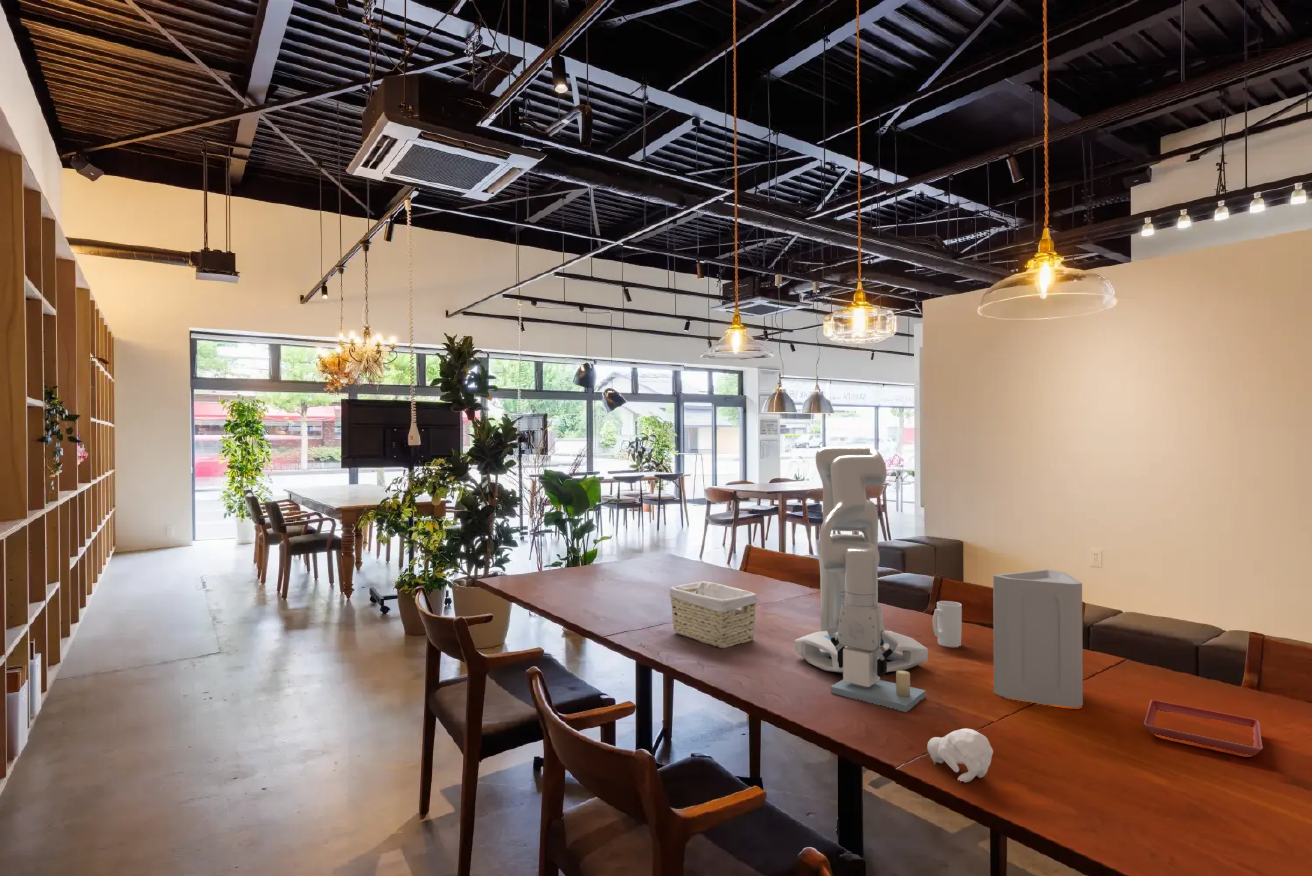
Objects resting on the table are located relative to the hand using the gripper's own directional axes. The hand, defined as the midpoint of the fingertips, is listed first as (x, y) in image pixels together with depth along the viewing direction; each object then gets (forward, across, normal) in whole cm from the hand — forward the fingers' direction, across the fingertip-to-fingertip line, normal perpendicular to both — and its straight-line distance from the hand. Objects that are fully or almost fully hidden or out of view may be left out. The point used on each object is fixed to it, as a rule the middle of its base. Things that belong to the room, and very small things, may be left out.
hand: (861, 670), depth 164 cm
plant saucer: (+5, +63, +21) cm, 67 cm away
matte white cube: (+2, 0, 0) cm, 2 cm away
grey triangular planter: (+5, +35, +24) cm, 43 cm away
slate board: (+5, +4, 0) cm, 6 cm away
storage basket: (+5, -54, +13) cm, 56 cm away
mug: (+5, +3, +51) cm, 51 cm away
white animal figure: (+5, +30, -27) cm, 41 cm away
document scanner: (+4, -9, +19) cm, 21 cm away
